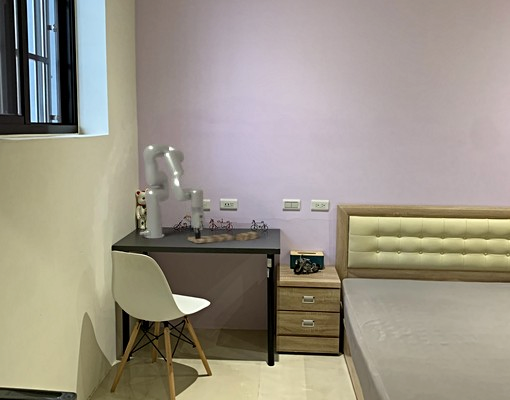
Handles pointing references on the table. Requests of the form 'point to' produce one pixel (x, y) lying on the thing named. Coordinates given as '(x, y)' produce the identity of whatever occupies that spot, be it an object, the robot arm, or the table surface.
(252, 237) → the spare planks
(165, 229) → the table surface
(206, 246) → the table surface
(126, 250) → the table surface
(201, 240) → the plank
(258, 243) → the table surface
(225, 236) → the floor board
